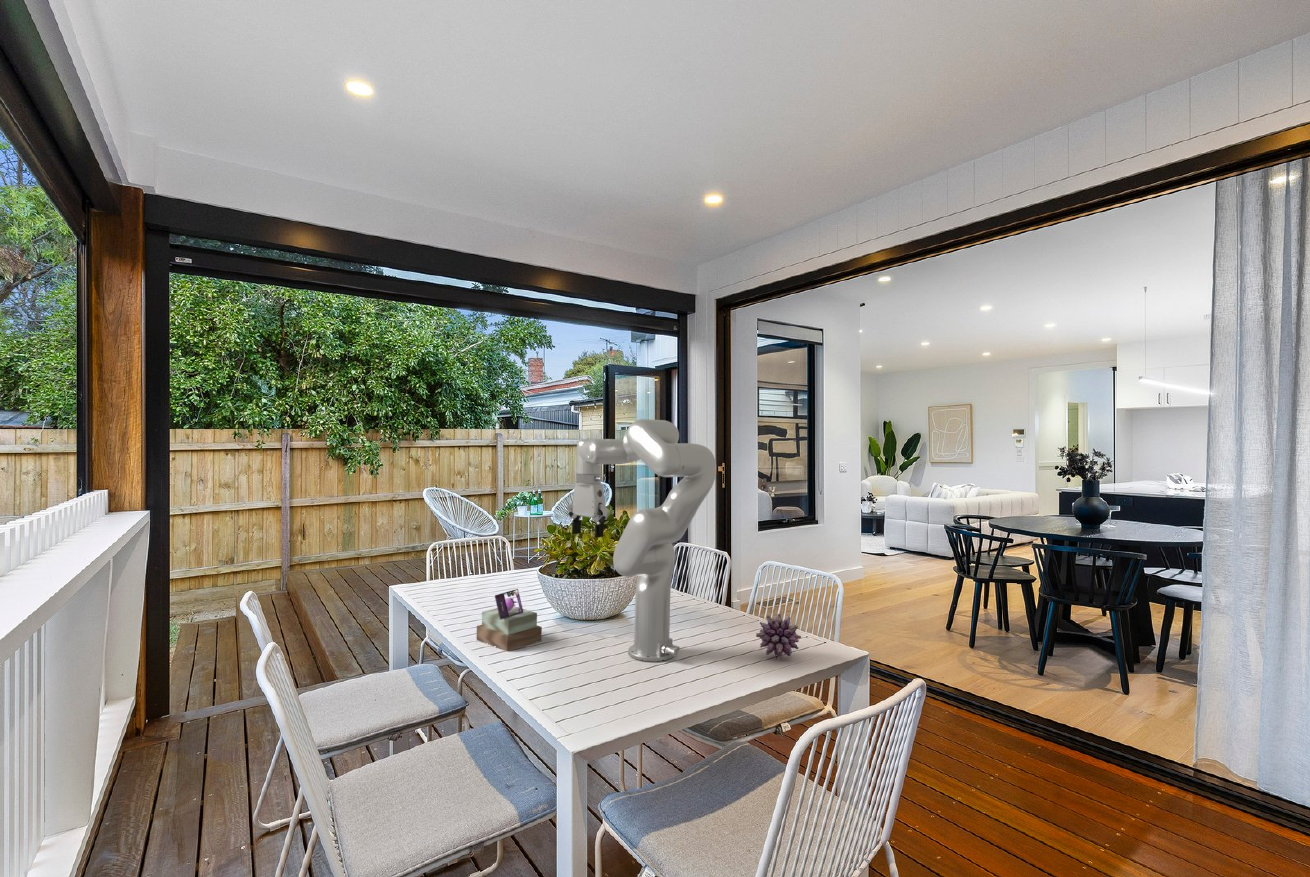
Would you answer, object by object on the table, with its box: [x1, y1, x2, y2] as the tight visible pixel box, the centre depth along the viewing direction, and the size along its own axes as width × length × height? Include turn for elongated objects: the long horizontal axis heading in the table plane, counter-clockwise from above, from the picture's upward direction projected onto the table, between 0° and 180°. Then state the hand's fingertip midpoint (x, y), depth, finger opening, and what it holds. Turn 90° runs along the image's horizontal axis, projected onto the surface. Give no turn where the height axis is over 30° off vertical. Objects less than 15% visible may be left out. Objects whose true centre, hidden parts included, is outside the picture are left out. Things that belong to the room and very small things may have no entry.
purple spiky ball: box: [755, 613, 802, 660], centre depth 171 cm, size 12×12×12 cm
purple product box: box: [494, 588, 524, 620], centre depth 178 cm, size 7×5×9 cm
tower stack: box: [476, 605, 543, 652], centre depth 180 cm, size 14×12×8 cm
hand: (587, 535), depth 194 cm, fingers open, 9 cm apart
